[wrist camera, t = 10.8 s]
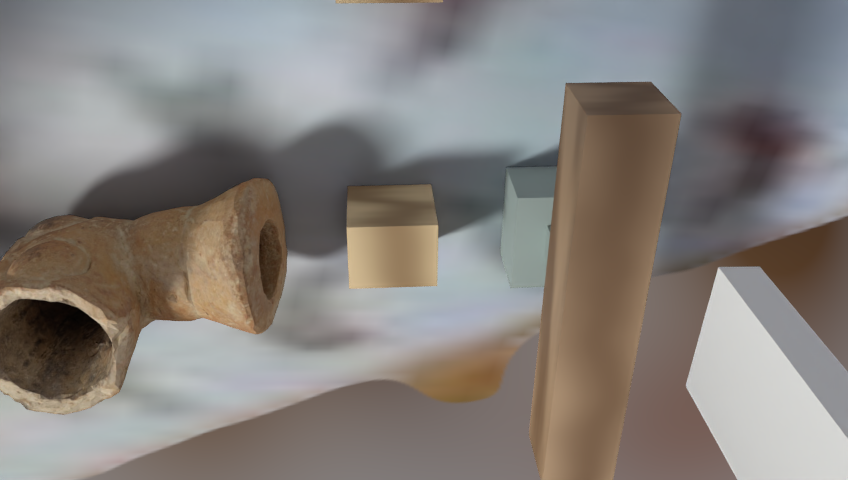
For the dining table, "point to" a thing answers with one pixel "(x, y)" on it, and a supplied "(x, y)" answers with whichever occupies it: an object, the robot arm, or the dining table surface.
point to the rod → (598, 271)
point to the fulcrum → (527, 224)
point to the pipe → (131, 290)
